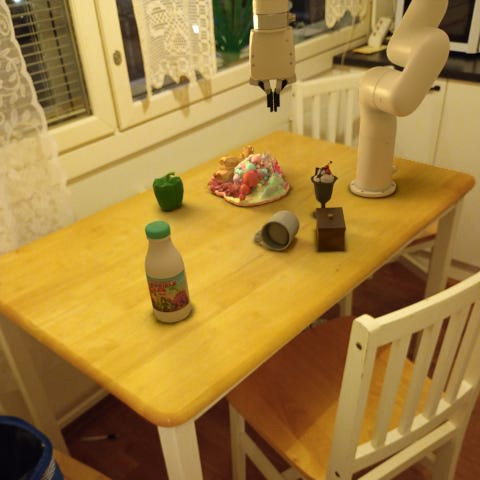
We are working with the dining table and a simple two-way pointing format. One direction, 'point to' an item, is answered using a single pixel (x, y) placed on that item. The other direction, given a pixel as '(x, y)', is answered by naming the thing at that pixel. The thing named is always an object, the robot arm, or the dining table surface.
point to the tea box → (330, 229)
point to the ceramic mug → (279, 230)
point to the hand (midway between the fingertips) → (273, 110)
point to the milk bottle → (166, 275)
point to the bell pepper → (168, 191)
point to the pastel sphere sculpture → (249, 179)
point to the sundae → (323, 184)
